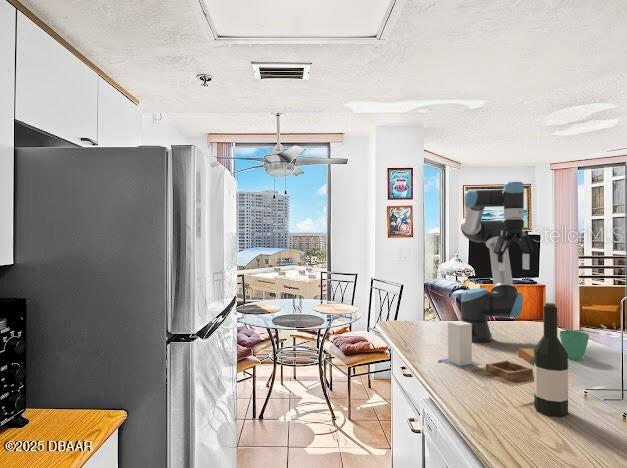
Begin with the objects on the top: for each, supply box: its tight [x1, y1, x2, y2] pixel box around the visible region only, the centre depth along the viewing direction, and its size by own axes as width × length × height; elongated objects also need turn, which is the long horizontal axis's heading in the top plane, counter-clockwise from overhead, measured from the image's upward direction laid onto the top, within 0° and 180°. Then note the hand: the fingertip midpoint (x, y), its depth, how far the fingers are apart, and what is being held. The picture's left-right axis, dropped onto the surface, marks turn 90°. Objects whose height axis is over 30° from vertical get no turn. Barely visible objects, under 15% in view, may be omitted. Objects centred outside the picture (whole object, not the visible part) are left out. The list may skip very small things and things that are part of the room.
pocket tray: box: [470, 360, 534, 388], centre depth 143 cm, size 18×18×3 cm
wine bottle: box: [533, 302, 569, 418], centre depth 115 cm, size 8×8×30 cm
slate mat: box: [438, 358, 483, 370], centre depth 156 cm, size 11×11×1 cm
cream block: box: [447, 320, 473, 366], centre depth 156 cm, size 6×6×15 cm
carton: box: [518, 348, 534, 367], centre depth 156 cm, size 8×16×4 cm, turn 176°
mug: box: [559, 329, 590, 361], centre depth 165 cm, size 15×10×10 cm
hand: (514, 270), depth 171 cm, fingers open, 13 cm apart
